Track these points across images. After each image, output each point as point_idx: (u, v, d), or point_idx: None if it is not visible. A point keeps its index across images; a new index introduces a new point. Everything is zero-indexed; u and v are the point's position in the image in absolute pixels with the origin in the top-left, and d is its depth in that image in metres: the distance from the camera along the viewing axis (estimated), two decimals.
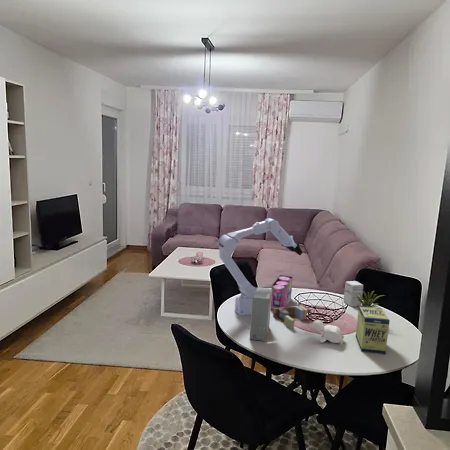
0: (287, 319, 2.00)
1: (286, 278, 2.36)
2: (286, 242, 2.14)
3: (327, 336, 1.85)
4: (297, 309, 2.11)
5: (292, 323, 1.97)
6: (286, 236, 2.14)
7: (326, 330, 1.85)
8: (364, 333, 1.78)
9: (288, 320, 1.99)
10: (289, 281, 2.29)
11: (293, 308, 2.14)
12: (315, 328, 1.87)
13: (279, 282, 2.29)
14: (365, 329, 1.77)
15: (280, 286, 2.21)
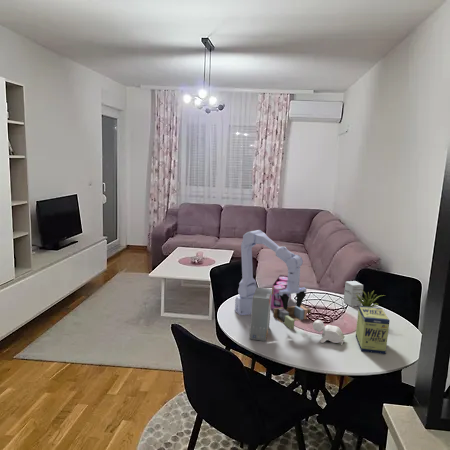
0: (287, 319, 2.00)
1: (286, 278, 2.36)
2: (287, 286, 1.97)
3: (327, 336, 1.85)
4: (297, 309, 2.11)
5: (292, 323, 1.97)
6: (289, 283, 1.95)
7: (326, 330, 1.85)
8: (364, 333, 1.78)
9: (288, 320, 1.99)
10: None
11: (293, 308, 2.14)
12: (315, 328, 1.87)
13: (279, 282, 2.29)
14: (365, 329, 1.77)
15: (280, 286, 2.21)
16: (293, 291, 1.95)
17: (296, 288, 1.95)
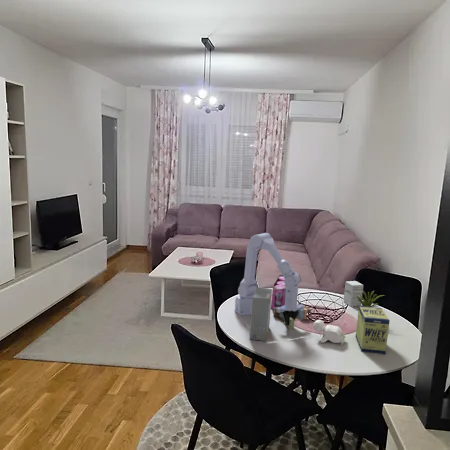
0: None
1: None
2: None
3: (328, 336, 1.85)
4: None
5: (292, 323, 1.97)
6: (287, 300, 1.96)
7: (327, 330, 1.85)
8: (364, 333, 1.78)
9: None
10: None
11: None
12: (316, 328, 1.87)
13: (279, 282, 2.29)
14: (365, 329, 1.77)
15: (281, 286, 2.21)
16: (290, 309, 1.96)
17: (293, 306, 1.96)
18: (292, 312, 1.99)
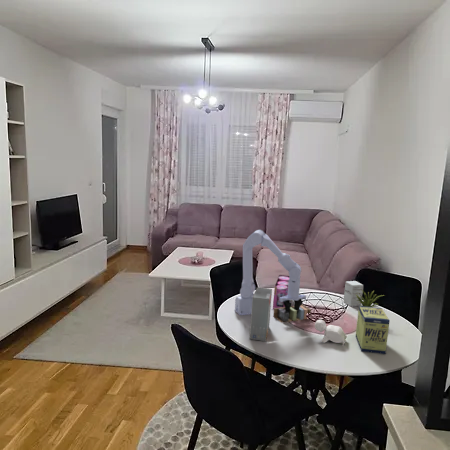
0: (290, 310, 2.10)
1: (286, 278, 2.36)
2: None
3: (329, 336, 1.85)
4: None
5: (294, 314, 2.07)
6: (290, 290, 2.06)
7: (328, 330, 1.85)
8: (364, 333, 1.78)
9: (291, 311, 2.09)
10: None
11: (293, 308, 2.14)
12: (317, 328, 1.88)
13: (280, 282, 2.29)
14: (365, 329, 1.77)
15: (283, 286, 2.21)
16: (293, 298, 2.05)
17: (296, 295, 2.05)
18: (296, 301, 2.09)
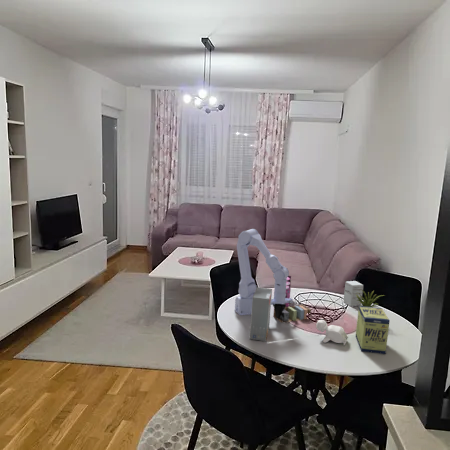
0: (290, 310, 2.10)
1: None
2: None
3: (330, 336, 1.85)
4: (297, 309, 2.11)
5: (294, 314, 2.07)
6: (276, 294, 2.03)
7: (329, 330, 1.85)
8: (364, 333, 1.78)
9: (291, 311, 2.09)
10: None
11: (293, 308, 2.14)
12: (318, 328, 1.88)
13: None
14: (365, 329, 1.77)
15: None
16: (279, 302, 2.02)
17: (282, 299, 2.03)
18: None
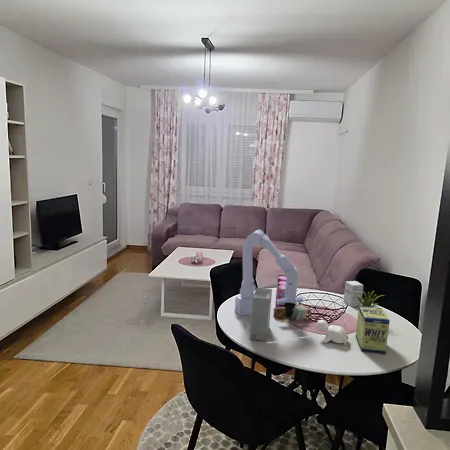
0: (295, 309, 2.11)
1: (286, 278, 2.37)
2: None
3: (331, 336, 1.85)
4: None
5: (299, 313, 2.08)
6: (287, 293, 2.05)
7: (330, 330, 1.85)
8: (364, 333, 1.78)
9: (296, 309, 2.10)
10: None
11: None
12: (319, 328, 1.88)
13: (281, 282, 2.29)
14: (365, 329, 1.77)
15: None
16: (290, 301, 2.05)
17: (293, 298, 2.05)
18: None
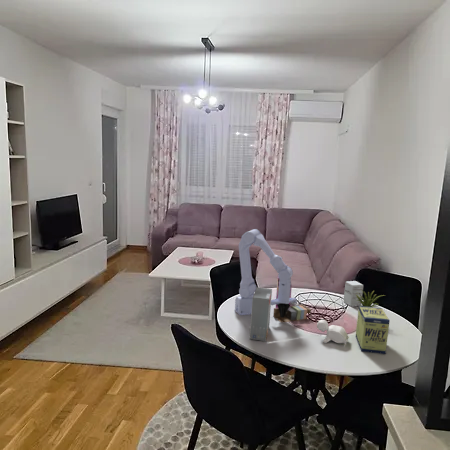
0: (294, 309, 2.11)
1: None
2: (278, 296, 2.06)
3: (331, 336, 1.85)
4: None
5: (299, 313, 2.08)
6: (280, 293, 2.04)
7: (330, 330, 1.85)
8: (364, 333, 1.78)
9: (295, 310, 2.10)
10: None
11: None
12: (319, 328, 1.88)
13: None
14: (365, 329, 1.77)
15: None
16: (283, 301, 2.04)
17: (286, 299, 2.04)
18: None
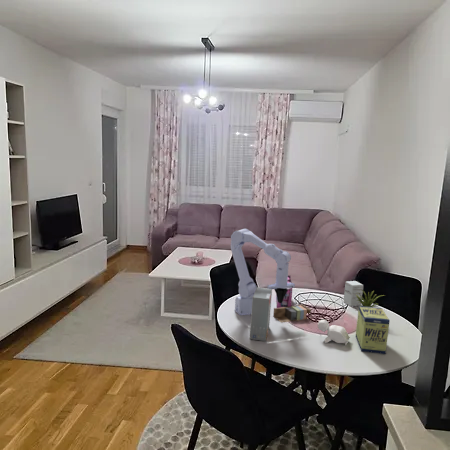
0: None
1: None
2: None
3: (332, 336, 1.85)
4: None
5: (298, 313, 2.08)
6: (278, 278, 2.02)
7: (331, 330, 1.85)
8: (364, 333, 1.78)
9: None
10: None
11: None
12: (320, 328, 1.88)
13: None
14: (365, 329, 1.77)
15: None
16: (281, 286, 2.01)
17: (284, 283, 2.01)
18: None
